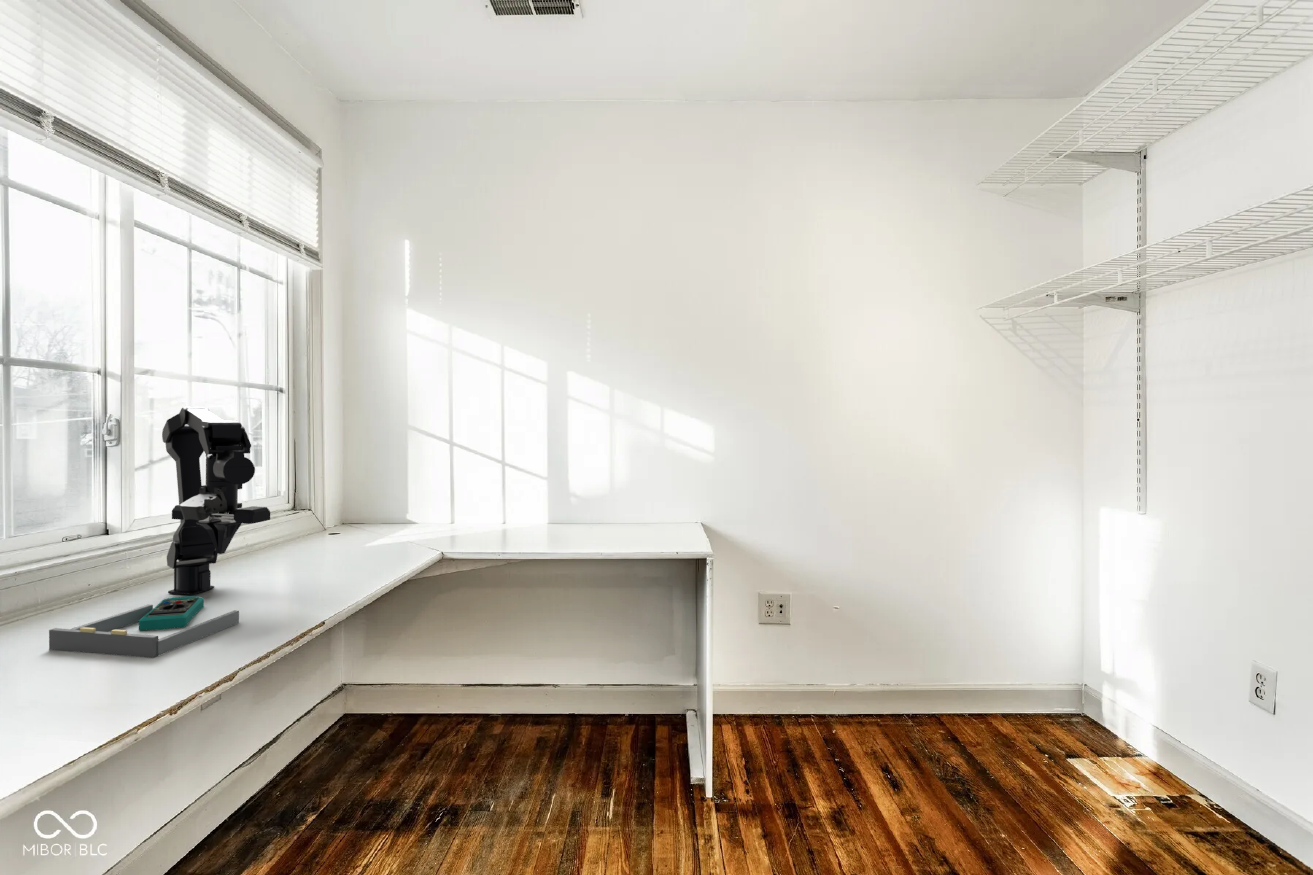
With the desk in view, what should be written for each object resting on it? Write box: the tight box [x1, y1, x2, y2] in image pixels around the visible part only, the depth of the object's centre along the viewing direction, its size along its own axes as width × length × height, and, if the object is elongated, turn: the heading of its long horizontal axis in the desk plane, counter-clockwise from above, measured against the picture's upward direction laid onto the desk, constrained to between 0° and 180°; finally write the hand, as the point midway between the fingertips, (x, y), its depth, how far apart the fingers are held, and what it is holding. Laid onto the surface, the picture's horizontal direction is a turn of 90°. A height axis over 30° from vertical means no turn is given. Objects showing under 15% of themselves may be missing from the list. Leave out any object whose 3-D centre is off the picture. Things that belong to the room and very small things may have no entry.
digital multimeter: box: [138, 595, 205, 632], centre depth 134 cm, size 8×15×3 cm, turn 22°
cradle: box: [48, 604, 240, 659], centre depth 123 cm, size 20×20×4 cm
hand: (221, 553), depth 140 cm, fingers closed
